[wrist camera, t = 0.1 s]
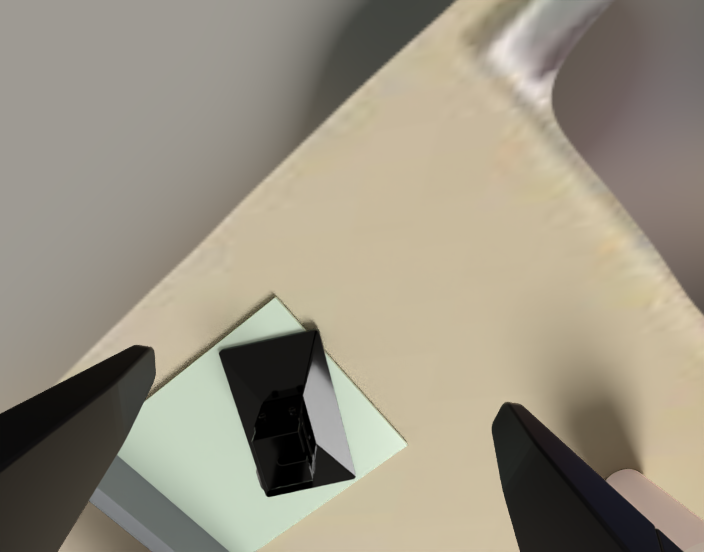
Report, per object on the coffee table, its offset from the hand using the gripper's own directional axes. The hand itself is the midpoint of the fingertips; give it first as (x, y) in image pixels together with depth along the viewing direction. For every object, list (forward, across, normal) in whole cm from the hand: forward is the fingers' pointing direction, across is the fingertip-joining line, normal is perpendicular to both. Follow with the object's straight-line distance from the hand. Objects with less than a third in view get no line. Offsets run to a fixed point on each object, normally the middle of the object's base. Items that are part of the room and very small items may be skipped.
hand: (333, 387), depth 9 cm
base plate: (+11, +4, +18) cm, 22 cm away
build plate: (+12, +1, +15) cm, 19 cm away
